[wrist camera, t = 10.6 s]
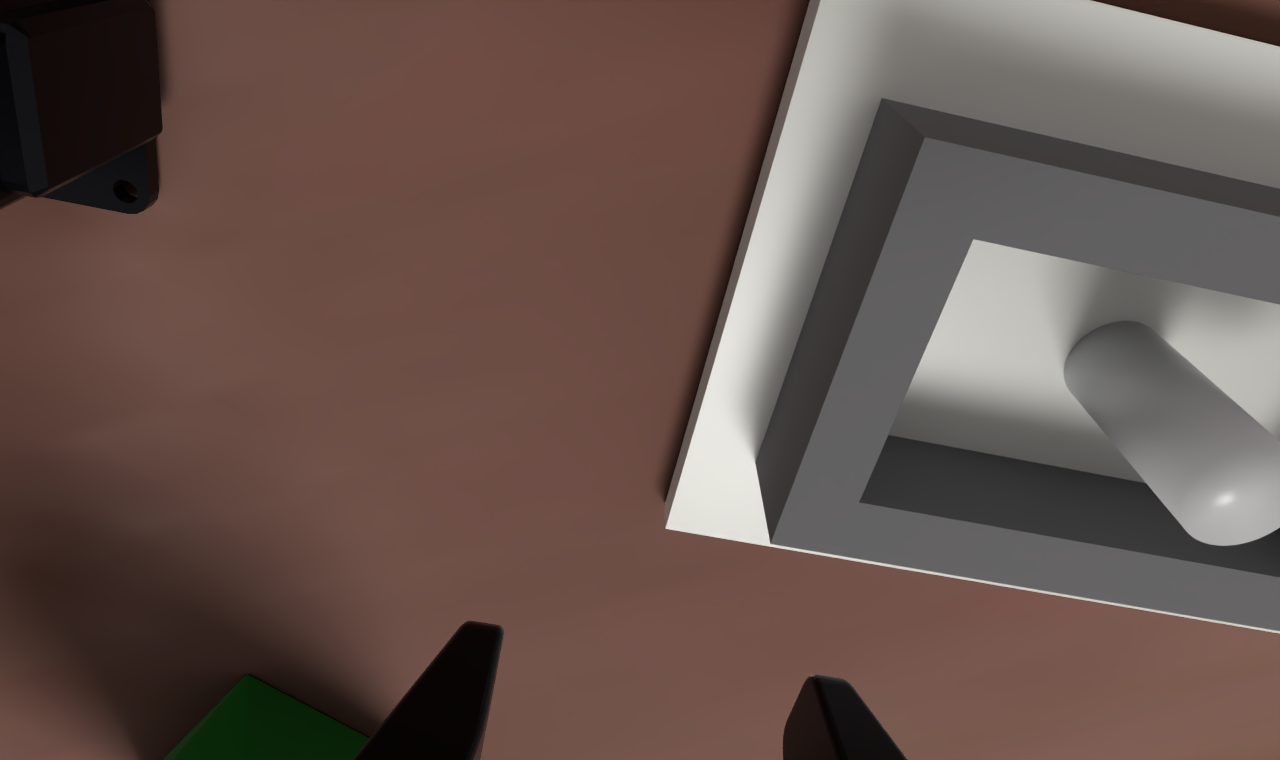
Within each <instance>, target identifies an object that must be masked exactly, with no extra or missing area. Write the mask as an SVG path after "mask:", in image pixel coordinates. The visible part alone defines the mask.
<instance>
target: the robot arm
mask: <svg viewBox="0 0 1280 760" xmlns="http://www.w3.org/2000/svg"><path fill="white" fill-rule="evenodd" d="M161 132H162V114H161V100H160V86H159V72H158V58H157V43H156V29H155V15H154V9H153V8H152V6H151V5H150V3H149V2H148V1H147V0H0V210H1V209H3V208H5V207H7V206H9V205H10V204H12V203H14V202H16V201H18V200H20V199H22V198H24V197H26V196H30V197H35V198H37V197H45V198H50V199H55V200H60V201H65V202H71V203H76V204H81V205H86V206H91V207H96V208H101V209H106V210H112V211H117V212H122V213H127V214H137V213H139V212H142V211H144V210H146V209H147V208H149V207H150V206H152V205H153V204H154V203H155V202H156V200H157V199H158V194H159V185H158V172H157V158H156V145H155V137H156V136H157V135H159V134H160V133H161ZM123 180H126V181H128V182H130V183H132V184H133V186H134V187H135V188H136V190H137V193H138V197H135V196H132V195H130V194H129V193H128V192H127V191H126V190H125V188H124V185H123ZM503 635H504V631H503V628H502V627H501V626H499V625H495V624H488V623H482V622H475V621H467V622H465V623H464V624H463V625H461V627H460V628H459V629H458V630H457V631H456V633H455V634H454V635H453V636H452V638H451V639H450V640H449V641H448V642H447V644H446V645H445V646H444V647H443V649H442V650H441V651H440V652H439V654H438V655H437V656H436V657H435V659H434V660H433V661H432V662H431V663H430V665H429V666H428V667H427V668H426V670H425V671H424V672H423V673H422V675H421V676H420V677H419V678H418V680H417V681H416V682H415V683H414V685H413V686H412V687H411V688H410V689H409V691H408V692H407V693H406V694H405V696H404V697H403V698H402V699H401V701H400V702H399V703H398V704H397V706H396V707H395V708H394V709H393V710H392V712H391V713H390V714H389V715H388V717H387V718H386V719H385V720H384V722H383V723H382V724H381V725H380V727H379V728H378V729H377V730H376V732H375V733H374V734H373V735H372V736H371V738H370V739H369V740H368V741H367V743H366V744H365V745H364V746H363V748H362V749H361V750H360V751H359V753H358V754H357V755H356V756H355V758H354V759H353V760H480V757H481V752H482V747H483V742H484V736H485V731H486V726H487V721H488V715H489V710H490V705H491V700H492V694H493V689H494V684H495V678H496V673H497V668H498V662H499V657H500V651H501V646H502V641H503ZM783 760H907V759H906V757H905V756H904V755H903V753H902V752H901V751H900V749H899V748H898V747H897V745H896V744H895V743H894V741H893V740H892V739H891V737H890V736H889V735H888V733H887V732H886V731H885V729H884V728H883V727H882V725H881V724H880V723H879V721H878V720H877V719H876V717H875V716H874V715H873V713H872V712H871V711H870V709H869V708H868V707H867V705H866V704H865V703H864V701H863V700H862V699H861V697H860V696H859V695H858V693H857V692H856V691H855V689H854V688H853V687H852V686H851V685H850V684H849V683H848V682H847V681H845V680H843V679H839V678H833V677H826V676H820V675H811V676H810V677H808V678H807V679H806V681H805V682H804V684H803V686H802V689H801V691H800V693H799V695H798V697H797V700H796V702H795V704H794V706H793V708H792V711H791V713H790V715H789V717H788V719H787V722H786V725H785V729H784V735H783Z"/></svg>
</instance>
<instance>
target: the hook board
mask: <svg viewBox="0 0 1280 760" xmlns="http://www.w3.org/2000/svg"><path fill="white" fill-rule="evenodd" d="M882 98H884V99H888V100H893V101H897V102H902V103H906V104H910V105H915V106H919V107H924V108H928V109H932V110H937V111H941V112H945V113H950V114H954V115H959V116H963V117H967V118H972V119H976V120H980V121H985V122H989V123H994V124H998V125H1002V126H1007V127H1011V128H1016V129H1020V130H1024V131H1029V132H1033V133H1037V134H1042V135H1046V136H1051V137H1055V138H1059V139H1064V140H1068V141H1073V142H1077V143H1081V144H1086V145H1090V146H1094V147H1099V148H1103V149H1108V150H1112V151H1116V152H1121V153H1125V154H1130V155H1134V156H1138V157H1143V158H1147V159H1151V160H1156V161H1160V162H1165V163H1169V164H1173V165H1178V166H1182V167H1187V168H1191V169H1195V170H1200V171H1204V172H1208V173H1213V174H1217V175H1222V176H1226V177H1230V178H1235V179H1239V180H1243V181H1248V182H1252V183H1257V184H1261V185H1265V186H1270V187H1274V188H1279V189H1280V46H1275V45H1271V44H1267V43H1263V42H1259V41H1255V40H1251V39H1247V38H1243V37H1239V36H1235V35H1231V34H1227V33H1223V32H1218V31H1214V30H1210V29H1206V28H1202V27H1198V26H1194V25H1190V24H1186V23H1182V22H1178V21H1174V20H1170V19H1165V18H1161V17H1157V16H1153V15H1149V14H1145V13H1141V12H1137V11H1133V10H1129V9H1125V8H1121V7H1117V6H1113V5H1108V4H1104V3H1100V2H1096V1H1092V0H810V2H809V5H808V9H807V12H806V16H805V19H804V23H803V26H802V29H801V33H800V36H799V40H798V43H797V47H796V50H795V54H794V57H793V61H792V64H791V68H790V71H789V75H788V78H787V82H786V85H785V89H784V92H783V95H782V99H781V102H780V106H779V109H778V113H777V116H776V120H775V123H774V127H773V130H772V134H771V137H770V141H769V144H768V148H767V151H766V155H765V158H764V161H763V165H762V168H761V172H760V175H759V179H758V182H757V186H756V189H755V193H754V196H753V200H752V203H751V207H750V210H749V214H748V217H747V220H746V224H745V227H744V231H743V234H742V238H741V241H740V245H739V248H738V252H737V255H736V259H735V262H734V266H733V269H732V273H731V276H730V280H729V283H728V286H727V290H726V293H725V297H724V300H723V304H722V307H721V311H720V314H719V318H718V321H717V325H716V328H715V332H714V335H713V339H712V342H711V345H710V349H709V352H708V356H707V359H706V363H705V366H704V370H703V373H702V377H701V380H700V384H699V387H698V391H697V394H696V398H695V401H694V405H693V408H692V411H691V415H690V418H689V422H688V425H687V429H686V432H685V436H684V439H683V443H682V446H681V450H680V453H679V457H678V460H677V464H676V467H675V471H674V474H673V477H672V481H671V484H670V488H669V491H668V495H667V498H666V502H665V529H671V530H676V531H682V532H688V533H694V534H700V535H706V536H712V537H718V538H723V539H729V540H735V541H741V542H747V543H753V544H759V545H764V546H770V547H776V548H782V549H788V550H794V551H800V552H806V553H811V554H817V555H823V556H829V557H835V558H841V559H847V560H852V561H858V562H864V563H870V564H876V565H882V566H888V567H894V568H899V569H905V570H911V571H917V572H923V573H929V574H935V575H940V576H946V577H952V578H958V579H964V580H970V581H976V582H981V583H987V584H993V585H999V586H1005V587H1011V588H1017V589H1023V590H1028V591H1034V592H1040V593H1046V594H1052V595H1058V596H1064V597H1069V598H1075V599H1081V600H1087V601H1093V602H1099V603H1105V604H1111V605H1116V606H1122V607H1128V608H1134V609H1140V610H1146V611H1152V612H1157V613H1163V614H1169V615H1175V616H1181V617H1187V618H1193V619H1199V620H1204V621H1210V622H1216V623H1222V624H1228V625H1234V626H1240V627H1245V628H1251V629H1257V630H1263V631H1269V632H1275V633H1280V631H1275V630H1270V629H1264V628H1258V627H1252V626H1246V625H1240V624H1235V623H1229V622H1223V621H1217V620H1211V619H1205V618H1200V617H1194V616H1188V615H1182V614H1176V613H1170V612H1165V611H1159V610H1153V609H1147V608H1141V607H1135V606H1130V605H1124V604H1118V603H1112V602H1106V601H1100V600H1095V599H1089V598H1083V597H1077V596H1071V595H1065V594H1060V593H1054V592H1048V591H1042V590H1036V589H1030V588H1025V587H1019V586H1013V585H1007V584H1001V583H995V582H990V581H984V580H978V579H972V578H966V577H960V576H955V575H949V574H943V573H937V572H931V571H925V570H919V569H914V568H908V567H902V566H896V565H890V564H884V563H879V562H873V561H867V560H861V559H855V558H849V557H844V556H838V555H832V554H826V553H820V552H814V551H809V550H803V549H797V548H791V547H785V546H779V545H774V544H770V539H769V534H768V529H767V523H766V518H765V512H764V507H763V502H762V496H761V491H760V486H759V480H758V475H757V469H756V464H755V462H756V460H757V457H758V454H759V451H760V448H761V445H762V442H763V439H764V436H765V434H766V431H767V428H768V425H769V422H770V419H771V416H772V413H773V410H774V408H775V405H776V402H777V399H778V396H779V393H780V390H781V387H782V384H783V382H784V379H785V376H786V373H787V370H788V367H789V364H790V361H791V359H792V356H793V353H794V350H795V347H796V344H797V341H798V338H799V335H800V333H801V330H802V327H803V324H804V321H805V318H806V315H807V312H808V309H809V307H810V304H811V301H812V298H813V295H814V292H815V289H816V286H817V283H818V281H819V278H820V275H821V272H822V269H823V266H824V263H825V260H826V257H827V255H828V252H829V249H830V246H831V243H832V240H833V237H834V234H835V231H836V229H837V226H838V223H839V220H840V217H841V214H842V211H843V208H844V205H845V203H846V200H847V197H848V194H849V191H850V188H851V185H852V182H853V180H854V177H855V174H856V171H857V168H858V165H859V162H860V159H861V156H862V154H863V151H864V148H865V145H866V142H867V139H868V136H869V133H870V130H871V128H872V125H873V122H874V119H875V116H876V113H877V110H878V107H879V104H880V102H881V99H882ZM889 435H891V436H897V437H902V438H907V439H913V440H918V441H923V442H929V443H934V444H940V445H945V446H950V447H956V448H961V449H966V450H972V451H977V452H982V453H988V454H993V455H998V456H1004V457H1009V458H1014V459H1020V460H1025V461H1030V462H1036V463H1041V464H1046V465H1052V466H1057V467H1062V468H1068V469H1073V470H1078V471H1084V472H1089V473H1094V474H1100V475H1105V476H1110V477H1116V478H1121V479H1127V480H1132V481H1137V482H1143V483H1147V485H1148V486H1149V487H1150V488H1151V489H1152V491H1153V492H1154V493H1155V494H1156V495H1157V497H1158V498H1159V499H1160V500H1161V501H1162V503H1163V504H1164V505H1165V506H1166V507H1167V509H1168V510H1169V511H1170V512H1171V513H1172V515H1173V516H1174V517H1175V518H1176V519H1177V521H1178V522H1179V523H1180V524H1181V525H1182V527H1183V528H1184V529H1185V530H1186V531H1187V533H1188V534H1189V535H1191V536H1192V537H1193V538H1195V539H1196V540H1198V541H1201V542H1203V543H1206V544H1211V545H1218V546H1229V545H1237V544H1243V543H1247V542H1251V541H1253V540H1256V539H1259V538H1261V537H1264V536H1266V535H1268V534H1270V533H1272V532H1273V531H1275V530H1277V529H1278V528H1280V304H1275V303H1270V302H1266V301H1261V300H1256V299H1252V298H1247V297H1242V296H1237V295H1233V294H1228V293H1223V292H1219V291H1214V290H1209V289H1205V288H1200V287H1195V286H1191V285H1186V284H1181V283H1176V282H1172V281H1167V280H1162V279H1158V278H1153V277H1148V276H1144V275H1139V274H1134V273H1130V272H1125V271H1120V270H1116V269H1111V268H1106V267H1101V266H1097V265H1092V264H1087V263H1083V262H1078V261H1073V260H1069V259H1064V258H1059V257H1055V256H1050V255H1045V254H1041V253H1036V252H1031V251H1026V250H1022V249H1017V248H1012V247H1008V246H1003V245H998V244H994V243H989V242H984V241H980V240H975V239H973V241H972V244H971V246H970V248H969V251H968V253H967V255H966V257H965V260H964V262H963V264H962V267H961V269H960V271H959V274H958V276H957V278H956V281H955V283H954V285H953V287H952V290H951V292H950V294H949V297H948V299H947V301H946V304H945V306H944V308H943V310H942V313H941V315H940V317H939V320H938V322H937V324H936V327H935V329H934V331H933V333H932V336H931V338H930V340H929V343H928V345H927V347H926V350H925V352H924V354H923V356H922V359H921V361H920V363H919V366H918V368H917V370H916V373H915V375H914V377H913V379H912V382H911V384H910V386H909V389H908V391H907V393H906V396H905V398H904V400H903V402H902V405H901V407H900V409H899V412H898V414H897V416H896V419H895V421H894V423H893V425H892V428H891V430H890V432H889Z"/></svg>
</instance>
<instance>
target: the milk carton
mask: <svg viewBox="0 0 1280 760" xmlns="http://www.w3.org/2000/svg"><path fill="white" fill-rule="evenodd" d="M369 739H370V738H368V737H366V736H364V735H362V734H360V733H359V732H357V731H355V730H353V729H351V728H349V727H347V726H345V725H343V724H341V723H339V722H338V721H336V720H334V719H332V718H330V717H328V716H326V715H324V714H322V713H320V712H318V711H317V710H315V709H313V708H311V707H309V706H307V705H305V704H303V703H301V702H299V701H297V700H295V699H294V698H292V697H290V696H288V695H286V694H284V693H282V692H280V691H278V690H276V689H274V688H273V687H271V686H269V685H267V684H265V683H263V682H261V681H259V680H257V679H255V678H253V677H251V676H250V675H245V676H244V677H243V678H242V679H241V680H240V681H239V682H238V683H237V684H236V686H235V687H234V688H233V689H232V690H231V691H230V692H229V693H228V694H227V695H226V696H225V697H224V698H223V699H222V700H221V701H220V702H219V703H218V704H217V705H216V706H215V707H214V708H213V709H212V710H211V711H210V712H209V713H208V714H207V715H206V716H205V717H204V718H203V719H202V720H201V721H200V722H199V723H198V724H197V725H196V726H195V727H194V728H193V729H192V730H191V731H190V732H189V733H188V734H187V735H186V736H185V737H184V738H183V739H182V740H181V741H180V743H179V744H178V745H177V746H176V747H175V748H174V749H173V750H172V751H171V752H170V753H169V754H168V755H167V756H166V757H165V758H164V759H163V760H353V759H354V758H355V756H356V755H357V754H358V753H359V751H360V750H361V749H362V748H363V746H364V745H365V744H366V743H367V741H368V740H369Z"/></svg>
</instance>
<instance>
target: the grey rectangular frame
mask: <svg viewBox="0 0 1280 760" xmlns="http://www.w3.org/2000/svg"><path fill="white" fill-rule="evenodd" d="M973 239H975V240H980V241H984V242H989V243H994V244H998V245H1003V246H1008V247H1012V248H1017V249H1022V250H1026V251H1031V252H1036V253H1041V254H1045V255H1050V256H1055V257H1059V258H1064V259H1069V260H1073V261H1078V262H1083V263H1087V264H1092V265H1097V266H1101V267H1106V268H1111V269H1116V270H1120V271H1125V272H1130V273H1134V274H1139V275H1144V276H1148V277H1153V278H1158V279H1162V280H1167V281H1172V282H1176V283H1181V284H1186V285H1191V286H1195V287H1200V288H1205V289H1209V290H1214V291H1219V292H1223V293H1228V294H1233V295H1237V296H1242V297H1247V298H1252V299H1256V300H1261V301H1266V302H1270V303H1275V304H1280V189H1279V188H1274V187H1270V186H1265V185H1261V184H1257V183H1252V182H1248V181H1243V180H1239V179H1235V178H1230V177H1226V176H1222V175H1217V174H1213V173H1208V172H1204V171H1200V170H1195V169H1191V168H1187V167H1182V166H1178V165H1173V164H1169V163H1165V162H1160V161H1156V160H1151V159H1147V158H1143V157H1138V156H1134V155H1130V154H1125V153H1121V152H1116V151H1112V150H1108V149H1103V148H1099V147H1094V146H1090V145H1086V144H1081V143H1077V142H1073V141H1068V140H1064V139H1059V138H1055V137H1051V136H1046V135H1042V134H1037V133H1033V132H1029V131H1024V130H1020V129H1016V128H1011V127H1007V126H1002V125H998V124H994V123H989V122H985V121H980V120H976V119H972V118H967V117H963V116H959V115H954V114H950V113H945V112H941V111H937V110H932V109H928V108H924V107H919V106H915V105H910V104H906V103H902V102H897V101H893V100H888V99H884V98H882V99H881V102H880V104H879V107H878V110H877V113H876V116H875V119H874V122H873V125H872V128H871V130H870V133H869V136H868V139H867V142H866V145H865V148H864V151H863V154H862V156H861V159H860V162H859V165H858V168H857V171H856V174H855V177H854V180H853V182H852V185H851V188H850V191H849V194H848V197H847V200H846V203H845V205H844V208H843V211H842V214H841V217H840V220H839V223H838V226H837V229H836V231H835V234H834V237H833V240H832V243H831V246H830V249H829V252H828V255H827V257H826V260H825V263H824V266H823V269H822V272H821V275H820V278H819V281H818V283H817V286H816V289H815V292H814V295H813V298H812V301H811V304H810V307H809V309H808V312H807V315H806V318H805V321H804V324H803V327H802V330H801V333H800V335H799V338H798V341H797V344H796V347H795V350H794V353H793V356H792V359H791V361H790V364H789V367H788V370H787V373H786V376H785V379H784V382H783V384H782V387H781V390H780V393H779V396H778V399H777V402H776V405H775V408H774V410H773V413H772V416H771V419H770V422H769V425H768V428H767V431H766V434H765V436H764V439H763V442H762V445H761V448H760V451H759V454H758V457H757V460H756V462H755V464H756V469H757V475H758V480H759V486H760V491H761V496H762V502H763V507H764V512H765V518H766V523H767V529H768V534H769V539H770V544H774V545H779V546H785V547H791V548H797V549H803V550H809V551H814V552H820V553H826V554H832V555H838V556H844V557H849V558H855V559H861V560H867V561H873V562H879V563H884V564H890V565H896V566H902V567H908V568H914V569H919V570H925V571H931V572H937V573H943V574H949V575H955V576H960V577H966V578H972V579H978V580H984V581H990V582H995V583H1001V584H1007V585H1013V586H1019V587H1025V588H1030V589H1036V590H1042V591H1048V592H1054V593H1060V594H1065V595H1071V596H1077V597H1083V598H1089V599H1095V600H1100V601H1106V602H1112V603H1118V604H1124V605H1130V606H1135V607H1141V608H1147V609H1153V610H1159V611H1165V612H1170V613H1176V614H1182V615H1188V616H1194V617H1200V618H1205V619H1211V620H1217V621H1223V622H1229V623H1235V624H1240V625H1246V626H1252V627H1258V628H1264V629H1270V630H1275V631H1280V528H1278V529H1277V530H1275V531H1273V532H1272V533H1270V534H1268V535H1266V536H1264V537H1261V538H1259V539H1256V540H1253V541H1251V542H1247V543H1243V544H1237V545H1229V546H1218V545H1211V544H1206V543H1203V542H1201V541H1198V540H1196V539H1195V538H1193V537H1192V536H1191V535H1189V534H1188V533H1187V531H1186V530H1185V529H1184V528H1183V527H1182V525H1181V524H1180V523H1179V522H1178V521H1177V519H1176V518H1175V517H1174V516H1173V515H1172V513H1171V512H1170V511H1169V510H1168V509H1167V507H1166V506H1165V505H1164V504H1163V503H1162V501H1161V500H1160V499H1159V498H1158V497H1157V495H1156V494H1155V493H1154V492H1153V491H1152V489H1151V488H1150V487H1149V486H1148V485H1147V483H1143V482H1137V481H1132V480H1127V479H1121V478H1116V477H1110V476H1105V475H1100V474H1094V473H1089V472H1084V471H1078V470H1073V469H1068V468H1062V467H1057V466H1052V465H1046V464H1041V463H1036V462H1030V461H1025V460H1020V459H1014V458H1009V457H1004V456H998V455H993V454H988V453H982V452H977V451H972V450H966V449H961V448H956V447H950V446H945V445H940V444H934V443H929V442H923V441H918V440H913V439H907V438H902V437H897V436H891V435H889V432H890V430H891V428H892V425H893V423H894V421H895V419H896V416H897V414H898V412H899V409H900V407H901V405H902V402H903V400H904V398H905V396H906V393H907V391H908V389H909V386H910V384H911V382H912V379H913V377H914V375H915V373H916V370H917V368H918V366H919V363H920V361H921V359H922V356H923V354H924V352H925V350H926V347H927V345H928V343H929V340H930V338H931V336H932V333H933V331H934V329H935V327H936V324H937V322H938V320H939V317H940V315H941V313H942V310H943V308H944V306H945V304H946V301H947V299H948V297H949V294H950V292H951V290H952V287H953V285H954V283H955V281H956V278H957V276H958V274H959V271H960V269H961V267H962V264H963V262H964V260H965V257H966V255H967V253H968V251H969V248H970V246H971V244H972V241H973Z"/></svg>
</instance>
